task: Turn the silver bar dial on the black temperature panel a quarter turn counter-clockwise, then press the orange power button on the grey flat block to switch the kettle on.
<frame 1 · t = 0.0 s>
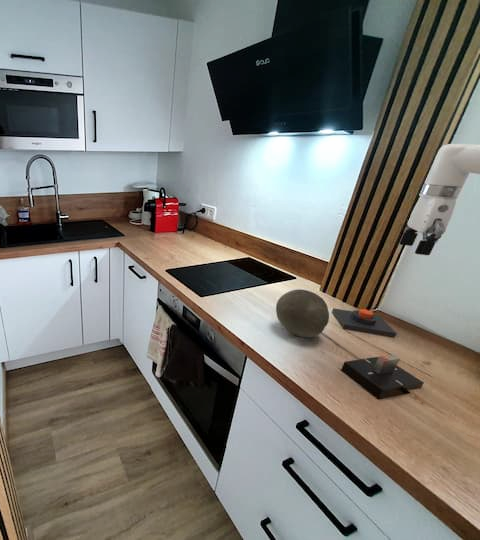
hand: (413, 249, 87), 28 cm above the worktop, tool pointing down, fingers open, 9 cm apart
grey flat block: (359, 327, 97), on the worktop
cantaloupe: (294, 333, 93), on the worktop
temp panel: (378, 380, 75), on the worktop
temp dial: (386, 364, 73), point 5 cm above the worktop, hinge at 0.0°
kettle button: (365, 313, 95), point 6 cm above the worktop, slide at 0.2 cm
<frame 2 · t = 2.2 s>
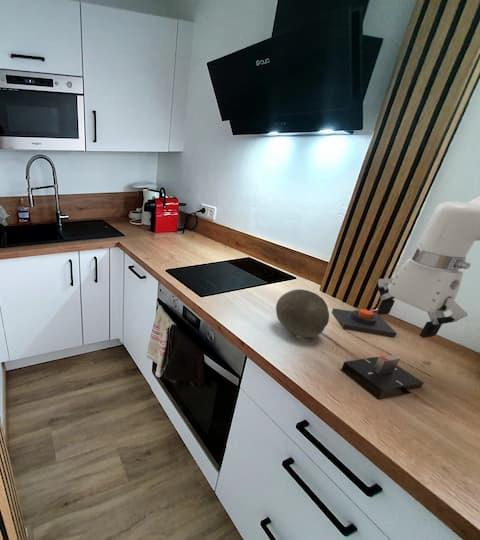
hand: (402, 324, 70), 16 cm above the worktop, tool pointing down, fingers open, 9 cm apart
nothing on the worktop moved.
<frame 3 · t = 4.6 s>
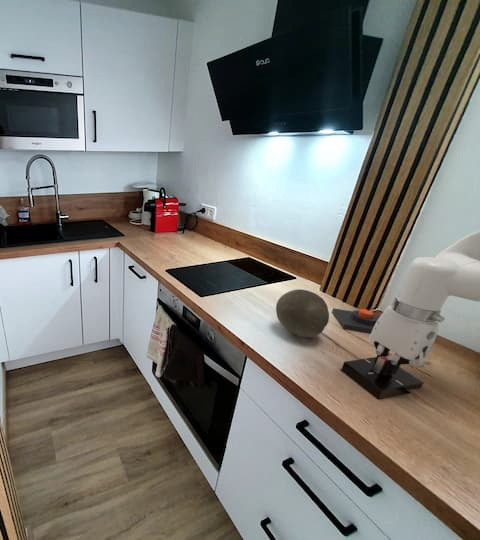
hand: (383, 370, 73), 3 cm above the worktop, tool pointing down, fingers closed on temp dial
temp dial: (386, 364, 73), point 5 cm above the worktop, hinge at -0.1°, touching gripper
everything else where it was.
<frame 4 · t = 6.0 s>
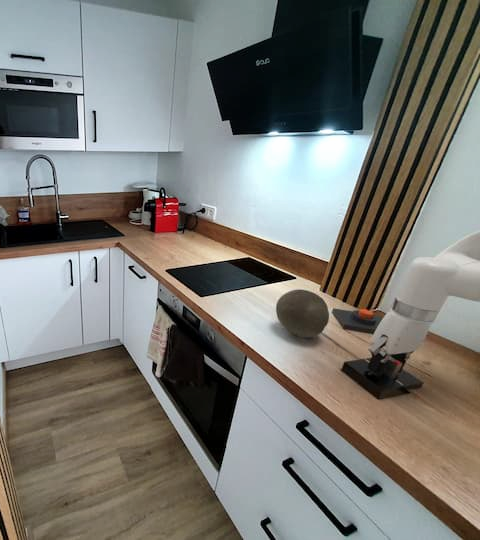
hand: (383, 369, 73), 4 cm above the worktop, tool pointing down, fingers open, 5 cm apart
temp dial: (386, 364, 73), point 5 cm above the worktop, hinge at 90.0°
everything else where it was.
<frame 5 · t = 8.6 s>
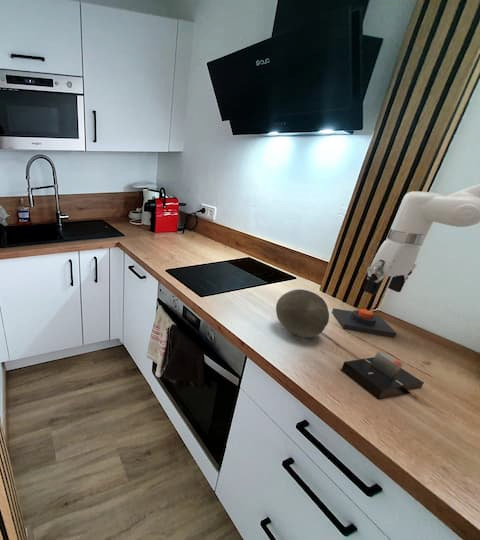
hand: (381, 291, 86), 16 cm above the worktop, tool pointing down, fingers open, 9 cm apart
nothing on the worktop moved.
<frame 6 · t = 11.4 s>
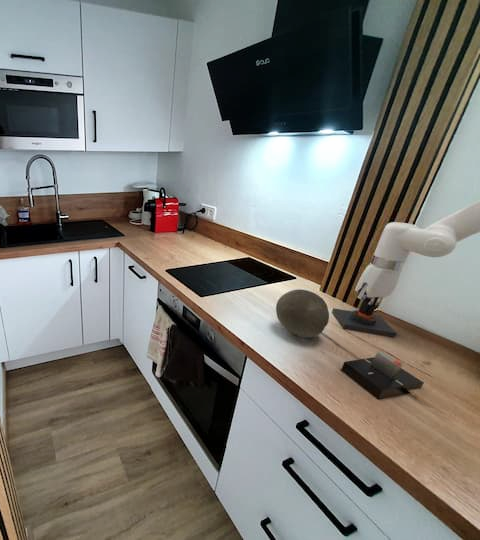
hand: (364, 313, 95), 6 cm above the worktop, tool pointing down, fingers closed
kettle button: (364, 315, 95), point 5 cm above the worktop, slide at -0.6 cm, touching gripper
everything else where it was.
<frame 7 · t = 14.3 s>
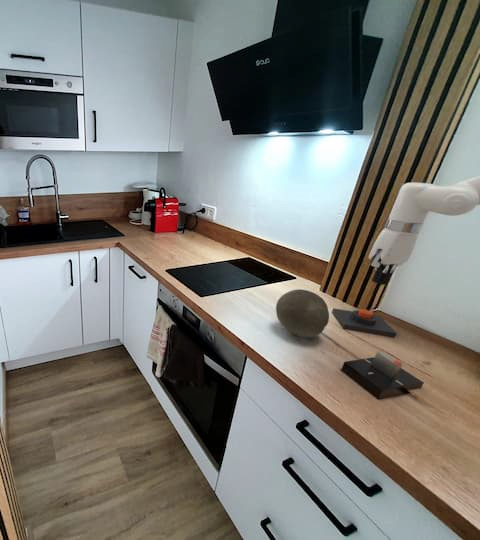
hand: (378, 282, 91), 17 cm above the worktop, tool pointing down, fingers closed
kettle button: (365, 313, 95), point 6 cm above the worktop, slide at 0.1 cm
everything else where it was.
at the end: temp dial at +90° (first picture: +0°); kettle button pushed in 1.1 cm at the most during the clip, back to where it started at the end; kettle button slide at 0.1 cm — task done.
